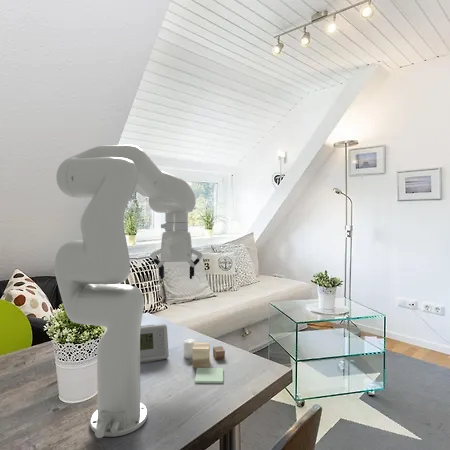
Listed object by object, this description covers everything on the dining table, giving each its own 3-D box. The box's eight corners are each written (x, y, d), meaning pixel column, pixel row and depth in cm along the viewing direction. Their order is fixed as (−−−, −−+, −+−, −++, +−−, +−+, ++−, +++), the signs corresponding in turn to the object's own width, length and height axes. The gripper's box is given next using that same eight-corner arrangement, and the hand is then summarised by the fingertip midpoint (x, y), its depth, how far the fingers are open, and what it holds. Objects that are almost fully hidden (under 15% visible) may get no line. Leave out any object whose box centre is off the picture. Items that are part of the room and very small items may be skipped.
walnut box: (224, 359, 112) (224, 350, 112) (215, 360, 111) (215, 351, 111) (221, 354, 116) (221, 346, 116) (213, 355, 115) (213, 346, 115)
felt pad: (223, 383, 97) (223, 381, 97) (194, 383, 97) (194, 381, 97) (223, 369, 105) (223, 368, 105) (197, 369, 105) (197, 367, 105)
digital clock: (115, 367, 107) (114, 333, 106) (120, 354, 115) (119, 323, 115) (168, 364, 109) (168, 331, 108) (169, 352, 118) (168, 321, 117)
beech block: (208, 367, 106) (208, 348, 106) (192, 367, 106) (192, 348, 106) (209, 360, 111) (209, 342, 111) (193, 360, 111) (194, 342, 111)
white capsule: (196, 358, 113) (196, 343, 112) (183, 358, 113) (183, 343, 112) (197, 353, 117) (197, 338, 117) (184, 353, 117) (184, 338, 117)
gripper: (148, 228, 111) (148, 280, 112) (202, 228, 112) (202, 280, 113) (152, 227, 119) (152, 276, 120) (202, 227, 119) (202, 276, 120)
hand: (176, 278), depth 116 cm, fingers open, 9 cm apart
